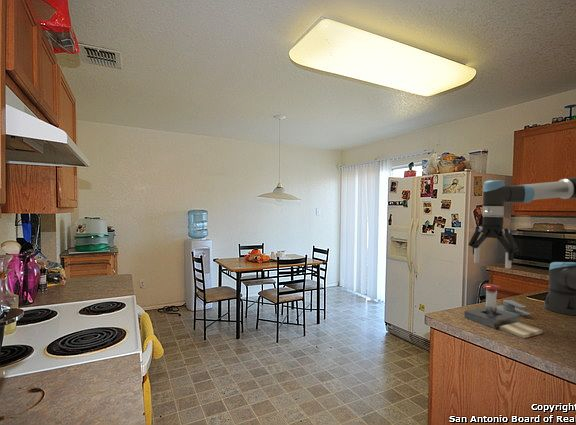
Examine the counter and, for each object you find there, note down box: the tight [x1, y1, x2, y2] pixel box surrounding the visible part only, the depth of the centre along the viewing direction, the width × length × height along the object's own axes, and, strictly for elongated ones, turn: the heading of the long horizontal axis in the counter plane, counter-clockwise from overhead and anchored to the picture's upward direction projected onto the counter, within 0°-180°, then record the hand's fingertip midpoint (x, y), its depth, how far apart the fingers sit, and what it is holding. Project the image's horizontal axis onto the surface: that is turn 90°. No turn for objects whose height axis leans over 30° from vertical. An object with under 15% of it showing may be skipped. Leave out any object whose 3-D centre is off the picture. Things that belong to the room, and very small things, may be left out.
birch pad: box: [498, 321, 544, 339], centre depth 122 cm, size 12×9×1 cm
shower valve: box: [497, 299, 531, 317], centre depth 145 cm, size 12×6×15 cm
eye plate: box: [464, 306, 520, 329], centre depth 134 cm, size 16×13×3 cm
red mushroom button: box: [483, 283, 501, 316], centre depth 134 cm, size 6×6×15 cm
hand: (491, 265), depth 134 cm, fingers open, 13 cm apart
